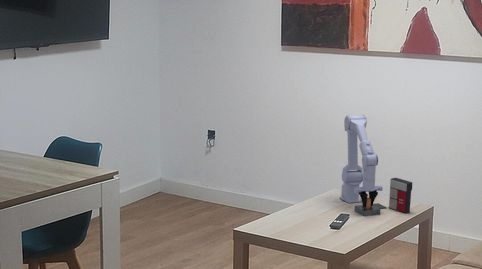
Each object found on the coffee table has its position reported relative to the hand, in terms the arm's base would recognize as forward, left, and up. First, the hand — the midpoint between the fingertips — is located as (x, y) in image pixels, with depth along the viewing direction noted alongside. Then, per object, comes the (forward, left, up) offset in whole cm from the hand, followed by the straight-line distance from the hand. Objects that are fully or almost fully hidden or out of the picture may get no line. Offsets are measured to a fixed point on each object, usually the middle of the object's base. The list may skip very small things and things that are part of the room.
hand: (367, 206), depth 371 cm
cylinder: (0, 0, -3) cm, 3 cm away
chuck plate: (0, 0, -3) cm, 3 cm away
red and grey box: (+1, +17, -3) cm, 17 cm away
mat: (-7, +9, -3) cm, 12 cm away
